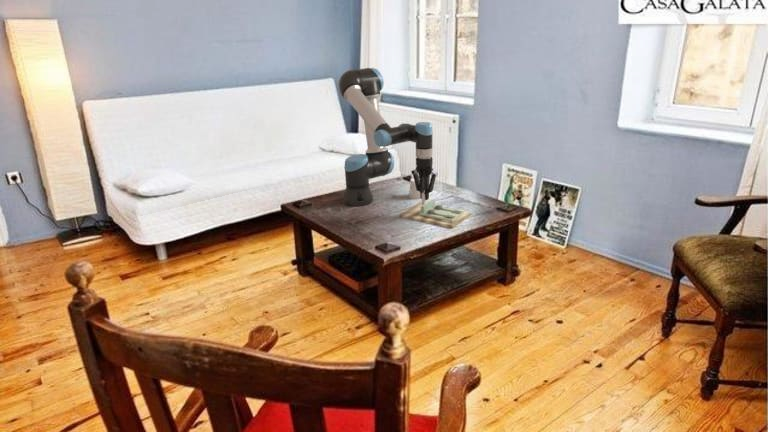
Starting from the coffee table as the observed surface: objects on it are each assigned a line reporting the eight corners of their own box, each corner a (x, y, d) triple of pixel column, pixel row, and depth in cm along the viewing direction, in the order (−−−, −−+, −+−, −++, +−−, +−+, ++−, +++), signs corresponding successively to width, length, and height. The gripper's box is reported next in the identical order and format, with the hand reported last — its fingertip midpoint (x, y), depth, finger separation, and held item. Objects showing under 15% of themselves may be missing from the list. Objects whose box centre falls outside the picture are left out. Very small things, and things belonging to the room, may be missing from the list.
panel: (419, 215, 232) (419, 206, 231) (432, 207, 241) (432, 199, 240) (452, 222, 223) (452, 213, 221) (464, 213, 232) (464, 205, 230)
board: (399, 216, 236) (399, 209, 234) (419, 204, 249) (419, 197, 248) (452, 228, 220) (452, 220, 219) (471, 215, 234) (471, 207, 232)
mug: (411, 182, 252) (407, 178, 259) (412, 200, 256) (407, 195, 263) (434, 180, 255) (429, 175, 262) (434, 197, 258) (429, 192, 266)
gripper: (407, 157, 228) (408, 205, 237) (432, 160, 221) (432, 210, 230) (416, 153, 234) (417, 201, 243) (440, 156, 227) (440, 205, 235)
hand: (424, 205), depth 236 cm, fingers closed
